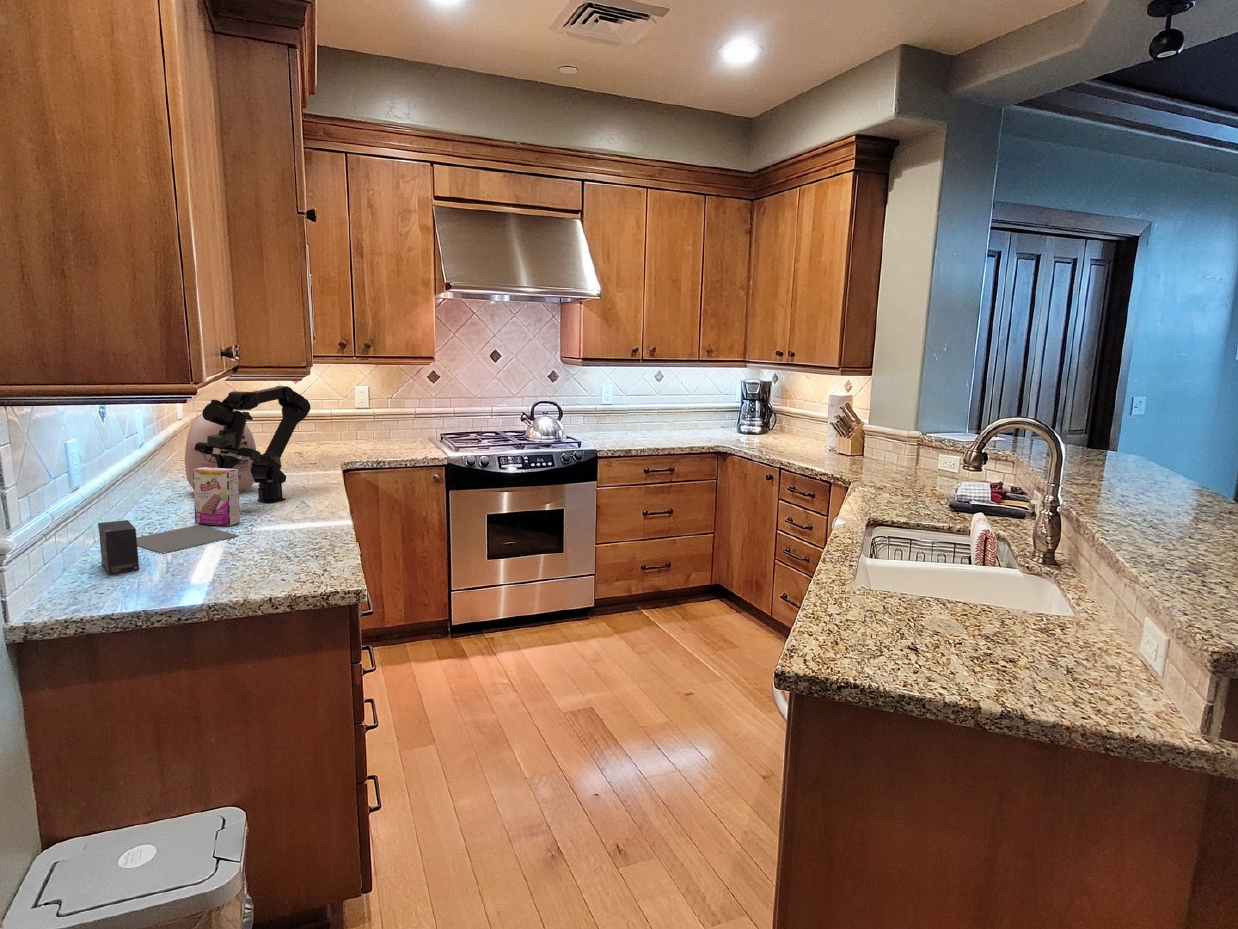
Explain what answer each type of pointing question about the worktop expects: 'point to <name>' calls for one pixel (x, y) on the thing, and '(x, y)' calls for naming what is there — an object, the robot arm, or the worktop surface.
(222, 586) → the worktop surface
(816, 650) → the worktop surface
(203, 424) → the packaged food
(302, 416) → the robot arm
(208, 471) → the candy bar box
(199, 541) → the mat
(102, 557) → the small box
